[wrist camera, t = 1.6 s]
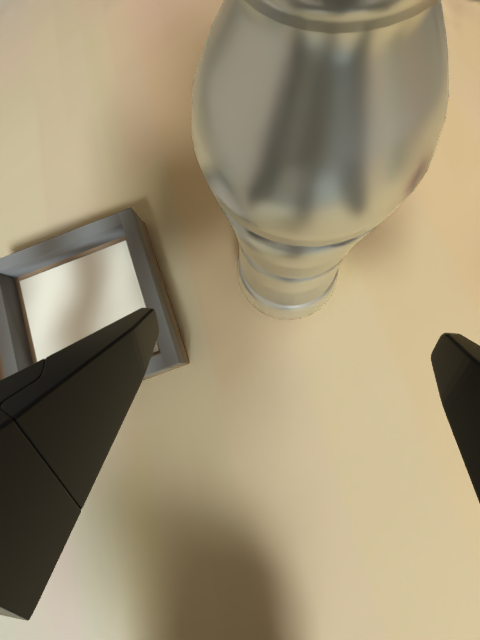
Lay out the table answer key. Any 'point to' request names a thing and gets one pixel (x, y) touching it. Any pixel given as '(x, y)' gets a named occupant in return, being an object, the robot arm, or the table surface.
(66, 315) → the grey flat tray
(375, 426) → the table surface
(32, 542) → the robot arm
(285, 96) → the plastic bottle
